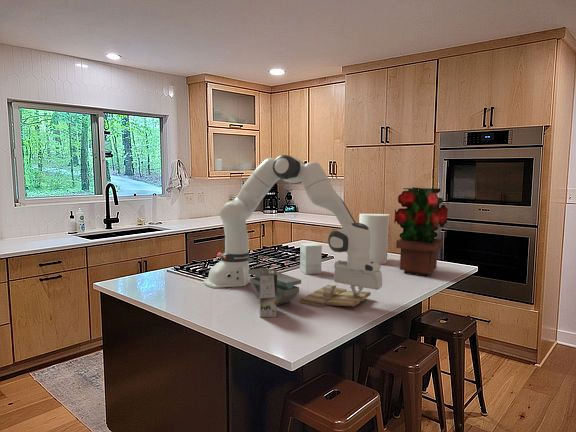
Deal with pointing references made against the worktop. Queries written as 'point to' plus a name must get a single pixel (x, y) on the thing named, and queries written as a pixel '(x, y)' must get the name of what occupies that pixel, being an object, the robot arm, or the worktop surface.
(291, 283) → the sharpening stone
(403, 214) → the potted plant
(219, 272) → the robot arm
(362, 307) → the worktop surface
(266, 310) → the coffee box
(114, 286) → the worktop surface
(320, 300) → the light brown rectangular block
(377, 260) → the cylinder
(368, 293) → the plank
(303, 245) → the supplement box
